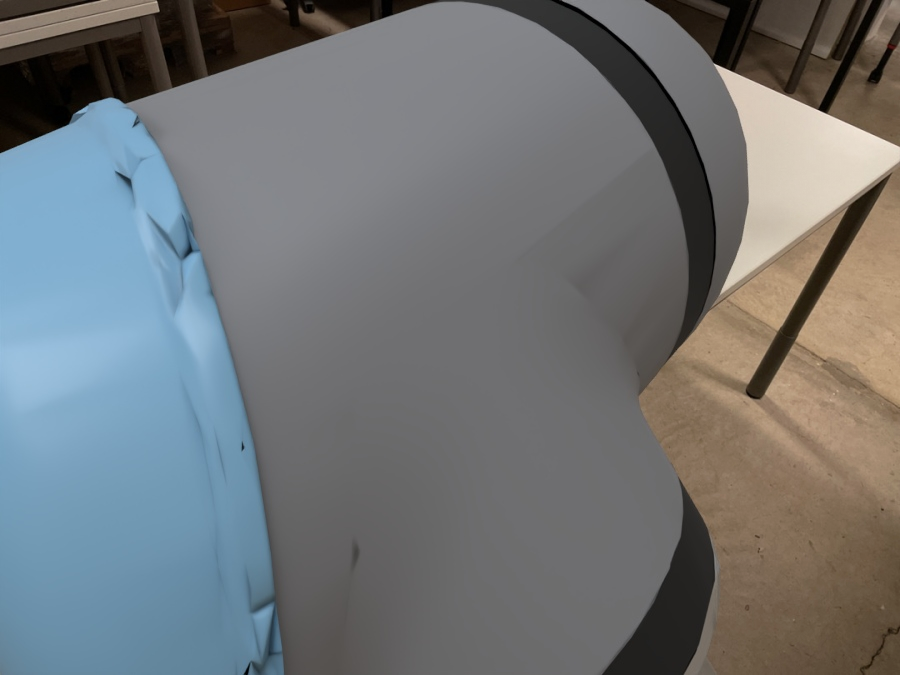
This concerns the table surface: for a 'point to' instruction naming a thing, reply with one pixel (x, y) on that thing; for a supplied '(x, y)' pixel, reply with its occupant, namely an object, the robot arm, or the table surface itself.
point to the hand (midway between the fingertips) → (433, 283)
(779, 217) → the table surface
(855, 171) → the table surface
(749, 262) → the table surface
